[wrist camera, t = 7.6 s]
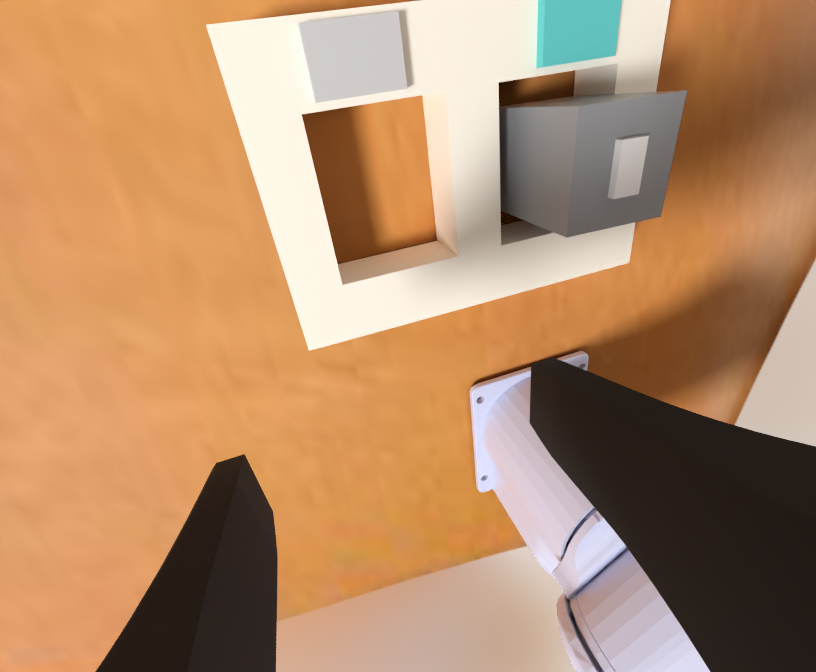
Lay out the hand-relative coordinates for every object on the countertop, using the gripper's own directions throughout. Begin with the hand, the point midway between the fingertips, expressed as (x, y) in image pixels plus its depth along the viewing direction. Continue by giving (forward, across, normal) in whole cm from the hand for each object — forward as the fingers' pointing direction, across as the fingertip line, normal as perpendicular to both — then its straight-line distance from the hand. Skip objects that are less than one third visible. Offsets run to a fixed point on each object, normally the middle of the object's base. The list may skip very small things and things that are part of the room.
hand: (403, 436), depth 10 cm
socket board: (+10, -6, -4) cm, 13 cm away
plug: (+10, -10, -4) cm, 15 cm away
